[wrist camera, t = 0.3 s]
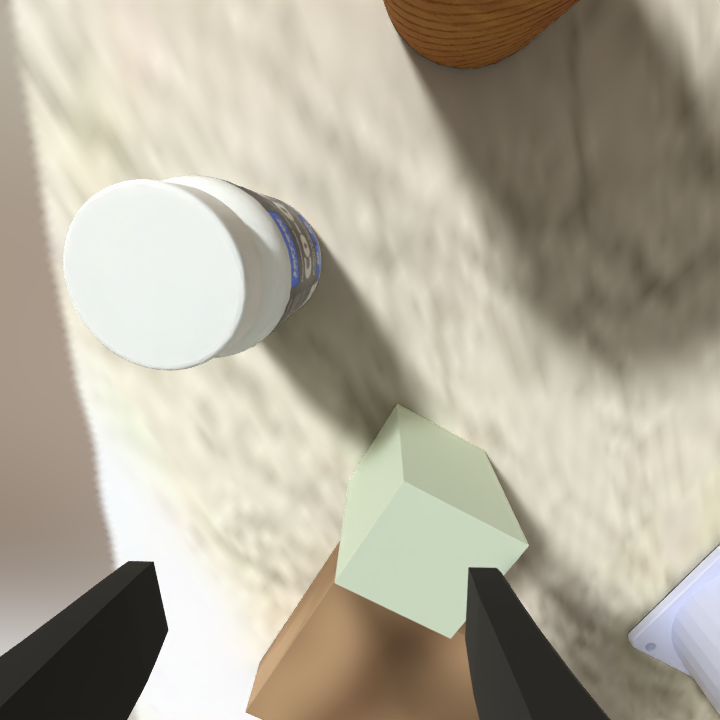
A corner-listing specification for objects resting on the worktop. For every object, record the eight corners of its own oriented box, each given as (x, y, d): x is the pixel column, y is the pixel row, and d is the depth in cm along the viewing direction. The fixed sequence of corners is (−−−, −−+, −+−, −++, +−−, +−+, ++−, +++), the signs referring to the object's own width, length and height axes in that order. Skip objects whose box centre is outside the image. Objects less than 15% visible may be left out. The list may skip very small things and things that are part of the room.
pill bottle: (347, 261, 16) (313, 287, 8) (268, 339, 18) (172, 429, 10) (259, 167, 16) (129, 98, 8) (182, 256, 17) (-2, 277, 9)
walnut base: (515, 619, 21) (532, 668, 19) (414, 731, 24) (418, 787, 22) (344, 534, 20) (339, 574, 18) (259, 662, 23) (245, 712, 21)
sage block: (483, 449, 19) (529, 545, 13) (431, 521, 20) (450, 638, 14) (397, 403, 18) (403, 480, 12) (348, 479, 19) (334, 583, 14)
